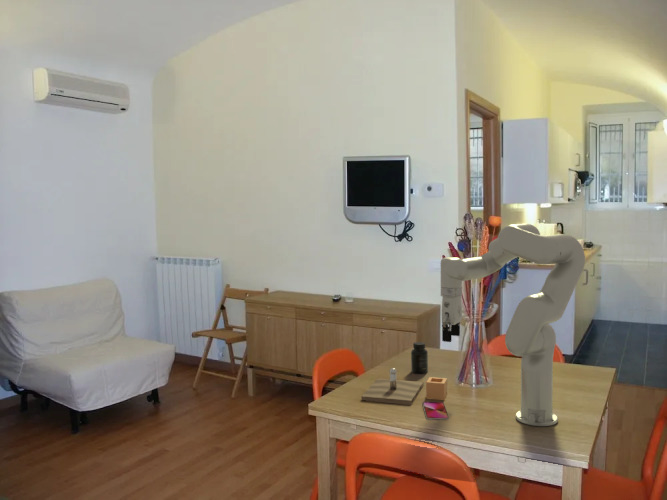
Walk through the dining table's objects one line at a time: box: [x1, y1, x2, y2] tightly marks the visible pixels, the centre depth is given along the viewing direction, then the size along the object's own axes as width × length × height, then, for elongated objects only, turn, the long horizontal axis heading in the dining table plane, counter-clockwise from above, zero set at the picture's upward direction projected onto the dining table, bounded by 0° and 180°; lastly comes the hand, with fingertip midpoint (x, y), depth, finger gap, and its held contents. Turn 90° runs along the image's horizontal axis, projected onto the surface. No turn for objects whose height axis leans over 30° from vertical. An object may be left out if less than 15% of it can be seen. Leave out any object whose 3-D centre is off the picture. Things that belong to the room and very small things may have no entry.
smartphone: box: [422, 401, 450, 421], centre depth 198 cm, size 7×1×15 cm
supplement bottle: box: [410, 341, 429, 375], centre depth 243 cm, size 7×7×12 cm
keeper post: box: [389, 367, 398, 390], centre depth 218 cm, size 3×3×8 cm
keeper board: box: [360, 378, 424, 406], centre depth 218 cm, size 22×18×2 cm
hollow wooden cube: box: [425, 376, 448, 401], centre depth 212 cm, size 6×6×6 cm
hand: (451, 338), depth 214 cm, fingers open, 9 cm apart
